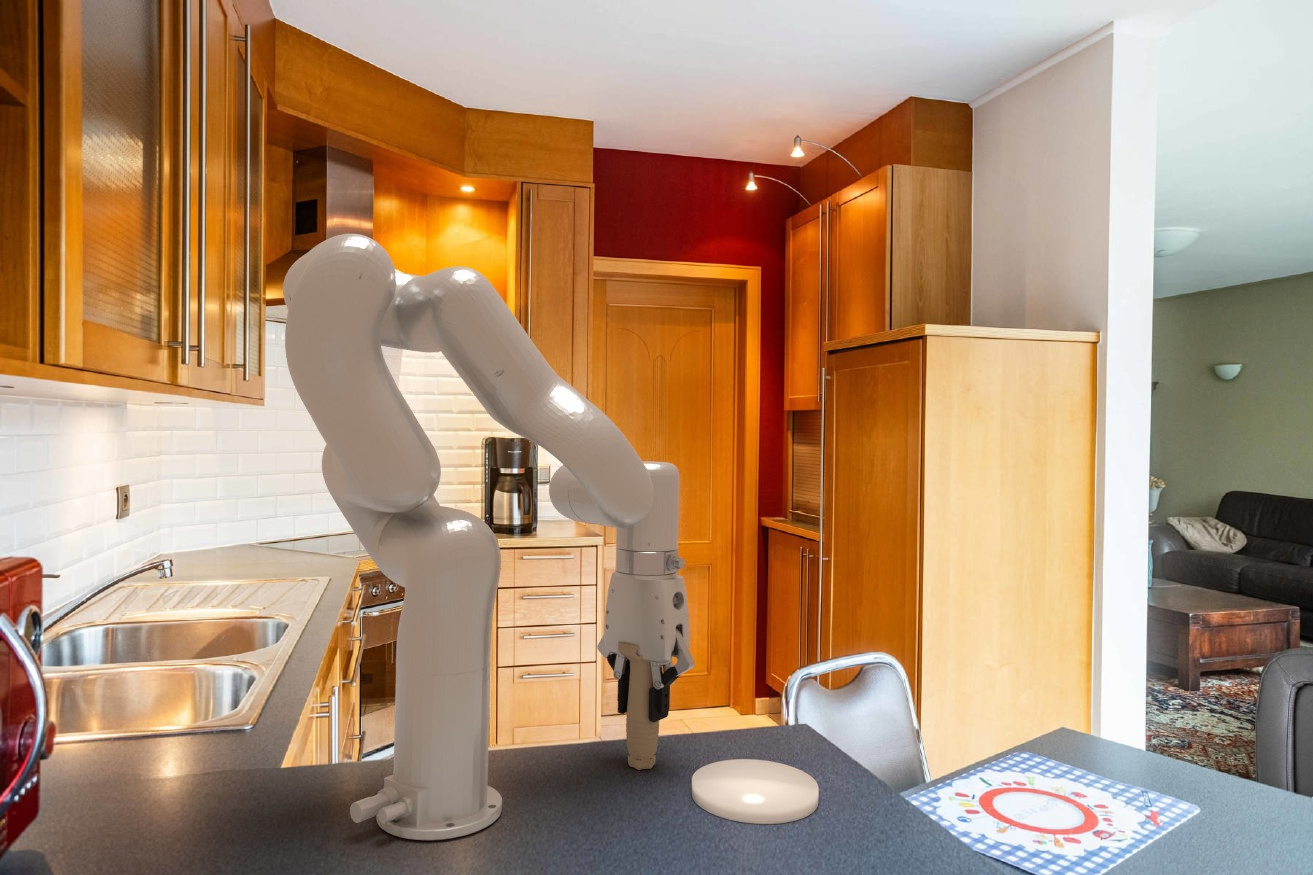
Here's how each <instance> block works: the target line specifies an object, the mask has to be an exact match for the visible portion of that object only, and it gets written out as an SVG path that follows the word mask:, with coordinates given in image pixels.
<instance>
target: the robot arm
mask: <svg viewBox="0 0 1313 875" xmlns="http://www.w3.org/2000/svg"><path fill="white" fill-rule="evenodd" d="M395 268H396V267H395V265H394V262H393V260H392V259H391V256H390V255H389V253H388V252H387V251H386V249H385V248H384V247H383V246H382V245H381V244H379V242H378V241H376V240H374V239H373V238H371V237H369V236H366V235H364V234H360V233H342V234H337V235H334V236H332V237H330V238H328V239H326V240H323V241H322V242H320V243H318V244H317V245H315V246H314V247H312V248H311V249H310V250H309V251H308V252H306V253H305V254H304V255H302V256H301V257H299V258H298V259H297V260H296V261H295V262H293V264H292V265H291V266H290V267H289V269H288V271H287V272H286V275H285V276H284V281H283V283H282V294H283V299H284V304H285V305H286V308H287V314H286V315H287V316H286V320H285V330H284V332H285V334H284V347H285V350H284V351H285V358H286V363H287V367H288V371H289V374H290V377H291V381H292V382H293V386H294V388H295V389H296V392H297V393H298V396H299V398H300V400H301V401H302V403H303V406H304V407H305V409H306V411H307V412H308V413H309V415H310V417H311V419H312V421H313V424H314V425H315V427H316V428H317V430H318V432H319V433H320V435H321V437H322V439H323V441H324V442H325V447H324V449H323V452H322V457H321V471H322V476H323V479H324V480H323V481H324V483H325V486H326V488H327V490H328V492H329V494H330V495H331V497H332V499H333V501H334V503H335V504H336V505H337V508H338V509H339V511H340V512H341V513H342V516H343V517H344V518H345V520H346V521H347V523H348V524H349V527H350V528H351V530H352V531H353V532H354V534H355V536H356V537H357V538H358V540H359V541H360V543H361V545H362V546H363V548H364V550H365V551H366V553H368V554H367V555H368V556H369V557H370V558H371V560H372V561H373V563H374V564H375V566H376V567H377V568H378V569H379V571H380V572H381V573H382V574H383V575H384V576H385V577H386V578H387V579H389V580H390V581H392V582H393V583H395V584H397V585H398V586H401V587H403V588H404V597H403V603H402V607H401V610H400V615H399V616H400V617H399V621H398V627H397V633H396V634H397V635H396V637H397V638H396V652H395V654H396V655H395V656H396V657H395V695H394V696H395V698H394V699H395V703H394V706H395V707H394V734H393V735H394V736H393V738H394V740H393V742H394V743H393V770H392V771H393V774H390V775H387V776H385V777H384V780H383V788H381V789H379V790H378V791H377V793H376V795H373V796H368V797H365V798H362V799H360V800H357V801H354V802H353V803H351V805H350V808H349V814H350V817H351V818H350V819H352V821H353V822H354V823H356V824H359V823H361V822H364V821H367V820H369V819H371V818H374V817H376V818H375V819H376V823H377V824H378V826H379V827H380V828H381V829H382V830H383V831H385V832H387V833H388V834H390V835H393V836H395V837H398V838H402V839H408V840H416V841H441V840H442V841H443V840H449V839H455V838H459V837H463V836H468V835H470V834H473V833H476V832H479V831H482V830H483V829H486V828H487V827H489V826H490V825H492V824H493V823H494V822H496V820H497V819H499V817H500V816H501V813H502V808H503V798H502V794H500V793H499V791H498V790H496V789H495V788H494V787H492V786H490V785H488V783H489V782H488V781H489V780H488V776H489V775H488V773H489V737H490V704H491V703H490V702H491V701H490V700H491V696H490V694H491V666H492V665H491V658H492V657H491V654H492V653H491V651H492V630H493V629H492V628H493V627H492V626H493V618H494V617H493V616H494V609H495V604H496V603H495V602H496V598H497V591H498V588H499V582H500V578H501V577H500V576H501V570H502V567H501V566H502V556H501V554H502V553H501V549H500V545H499V542H498V538H497V537H496V535H495V533H494V532H493V530H492V529H491V528H490V526H489V525H488V524H487V523H486V522H485V521H484V520H483V519H481V518H480V517H478V516H477V515H475V514H473V513H470V512H469V511H466V510H463V509H460V508H458V509H457V508H453V507H448V506H442V505H440V503H439V502H438V500H437V498H436V497H435V494H436V491H437V490H438V488H439V485H440V482H441V476H442V475H441V474H442V472H441V471H442V468H441V463H440V462H441V461H440V458H439V455H438V453H437V450H436V448H435V447H434V445H433V443H432V441H431V440H430V438H429V437H428V434H426V432H425V431H424V429H423V427H422V425H421V424H420V422H419V420H418V419H417V418H416V417H417V416H415V414H414V412H413V410H412V409H411V407H410V405H409V403H408V402H407V401H406V399H405V397H404V395H403V394H402V392H401V390H400V388H399V387H398V385H397V383H396V381H395V379H394V377H393V375H392V373H391V371H390V369H389V367H388V365H387V363H386V360H385V357H384V354H383V350H382V347H386V348H391V349H398V350H405V351H406V350H407V351H412V352H420V353H440V352H441V354H442V355H443V356H444V358H445V359H446V360H447V362H448V363H449V364H450V365H451V366H452V368H453V369H454V370H455V371H456V373H457V374H458V375H459V378H461V380H462V381H463V383H465V385H466V386H467V387H468V389H469V390H470V391H471V393H472V394H473V395H474V396H475V398H476V399H477V401H479V403H480V404H481V406H482V407H483V409H485V411H486V413H487V414H488V415H489V416H490V417H491V418H492V419H493V420H494V421H496V422H497V423H498V424H499V425H501V426H503V427H504V428H505V429H507V431H508V430H509V431H510V432H512V433H513V434H516V435H518V436H519V437H521V438H524V439H527V440H528V441H530V442H533V443H534V444H535V445H538V446H539V447H540V448H542V449H544V450H545V451H546V452H547V453H549V454H550V455H552V456H553V457H554V458H555V459H556V460H558V461H559V462H560V463H561V465H560V467H559V468H557V469H556V470H555V471H554V473H553V475H552V477H551V479H550V480H549V484H548V485H549V486H548V495H549V499H550V502H551V504H552V506H553V507H554V509H555V510H556V511H557V512H558V513H559V514H560V515H562V516H564V517H565V518H566V519H569V520H571V521H574V522H579V523H584V524H590V525H599V526H603V527H604V526H605V527H609V528H615V530H616V531H615V539H616V541H615V571H613V572H611V576H610V581H609V584H608V585H609V586H608V590H607V596H606V597H607V598H606V604H605V613H604V614H605V615H604V627H603V628H604V631H603V632H604V633H603V635H602V637H601V638H600V640H599V642H598V644H597V645H596V646H597V647H596V648H597V651H598V652H599V653H600V654H601V655H602V656H603V657H604V658H605V659H606V660H607V663H608V665H609V666H610V668H611V670H613V675H612V676H613V678H614V679H615V680H617V698H616V700H617V713H618V714H620V715H624V714H627V704H628V693H629V680H630V660H629V659H628V658H627V657H625V656H624V655H622V654H621V653H620V652H619V651H618V642H622V643H627V644H632V645H637V646H640V649H641V650H637V655H638V656H641V655H642V654H643V659H644V660H645V661H650V662H651V669H652V677H653V685H654V687H652V688H650V690H649V721H650V722H657V721H659V722H660V721H661V720H663V719H666V718H668V716H669V712H670V706H671V704H670V703H671V702H670V700H671V699H670V698H671V685H673V684H675V682H676V680H678V678H679V677H681V675H683V674H684V673H686V672H688V671H689V670H691V669H693V668H694V667H695V666H696V665H695V661H694V658H693V656H692V654H691V651H690V643H691V642H690V617H689V616H690V614H689V602H688V594H687V589H686V585H685V580H684V576H682V575H678V572H679V570H683V569H684V568H685V565H686V561H685V559H684V558H683V557H680V556H679V523H680V522H679V520H680V519H679V517H680V485H681V484H680V477H681V476H680V470H679V468H678V467H677V466H676V465H675V464H674V463H671V462H666V461H653V460H652V461H650V460H649V461H648V460H646V461H645V460H642V458H641V457H640V455H639V454H638V452H637V451H636V449H635V448H634V446H632V444H631V443H630V441H629V440H628V438H627V437H626V436H625V434H624V433H623V432H622V431H621V429H620V428H619V427H618V426H617V425H616V423H614V421H613V420H611V418H609V417H608V415H607V414H605V413H604V412H603V411H602V410H601V409H600V408H598V406H596V405H595V404H594V403H593V402H591V401H590V400H589V399H588V398H586V397H585V396H584V395H583V394H582V393H581V392H580V391H578V390H577V388H575V387H574V386H572V385H571V384H570V383H568V382H567V381H565V380H564V379H563V378H562V377H561V376H559V375H558V374H557V372H556V371H555V370H554V369H553V368H552V366H551V365H550V364H549V362H548V361H547V360H546V358H545V357H544V355H543V354H542V352H541V351H540V349H538V347H537V346H536V345H535V344H534V342H533V340H532V338H530V336H529V334H528V333H527V331H526V330H525V329H524V327H523V326H522V324H521V323H520V322H519V320H518V319H517V318H516V315H514V313H513V312H512V310H511V309H510V307H509V306H508V305H507V303H506V302H505V300H504V299H503V298H502V296H501V295H500V293H499V292H498V291H497V289H496V288H495V287H494V286H493V284H492V283H491V282H490V281H489V280H488V279H487V277H485V275H483V274H482V273H481V272H479V271H478V270H476V269H474V268H471V267H468V266H452V267H451V266H450V267H445V268H442V269H439V270H435V271H432V272H430V273H428V274H425V275H415V274H408V273H403V272H399V271H396V269H395ZM673 658H676V663H675V664H673Z"/></svg>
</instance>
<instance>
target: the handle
mask: <svg viewBox="0 0 1313 875" xmlns="http://www.w3.org/2000/svg"><path fill="white" fill-rule="evenodd" d="M637 650H641V649H640V646H637V645H632V644H627V643H622V642H618V651H619V652H620V653H621V654H622V655H624V656H625V657H627V658H628V659H629V660H630V680H629V693H628V704H627V713H626V719H625V720H626V721H625V722H626V724H625V734H626V738H625V739H626V746H627V747H626V748H627V752H628V753H629V754H628V755H627V763H628V765H629V767H630V768H631V767H632V768H634V769H636V770H639V771H641V770H651V769H652V768H653V766H655V764H656V758H657V754H656V752H657V749H658V743H659V742H658V741H659V733H660V720H659V721H657V722H650V721H649V690H650V688H652V687H654V685H653V677H652V669H651V662H650V661H645V660H644V659H643V654H642V655H641V656H638V655H637Z"/></svg>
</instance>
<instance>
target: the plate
mask: <svg viewBox="0 0 1313 875" xmlns="http://www.w3.org/2000/svg"><path fill="white" fill-rule="evenodd" d="M819 792H820V791H819V785H818V782H817V781H816V779H814V778H813V777H812V776H811V775H810V774H808V773H806V772H805V771H803V770H801V769H799V768H797V767H794V766H791V765H788V764H784V763H782V762H781V763H780V762H776V761H769V760H763V759H753V758H752V759H751V758H750V759H749V758H746V759H745V758H742V759H741V758H737V759H726V760H725V759H724V760H720V761H715V762H711V763H709V764H706V765H703V766H701V767H700V768H698V769H696V771H695V772H694V773H693V775H692V776H691V798H692V800H693V801H694V803H695V804H696V805H697V806H698V807H699V808H701V809H702V810H704V811H705V812H708V813H709V814H712V815H713V816H717V817H719V818H722V819H726V820H730V821H735V822H740V823H744V824H745V823H746V824H754V825H755V824H756V825H774V824H785V823H791V822H795V821H799V820H801V819H804V818H806V817H808V816H810V815H811V814H813V813H814V812H815V811H816V810H817V808H818V806H819Z"/></svg>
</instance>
